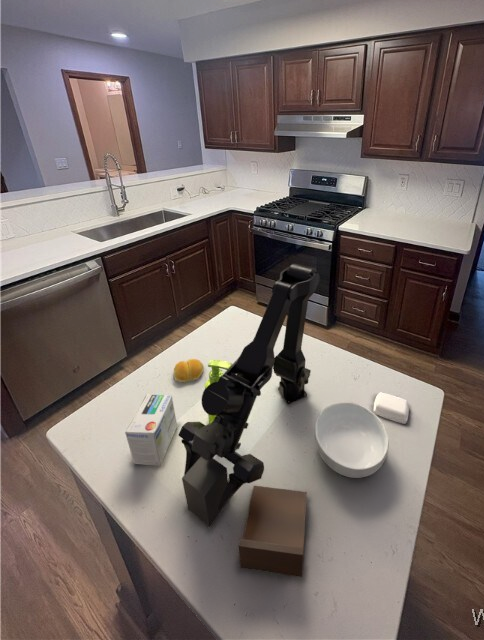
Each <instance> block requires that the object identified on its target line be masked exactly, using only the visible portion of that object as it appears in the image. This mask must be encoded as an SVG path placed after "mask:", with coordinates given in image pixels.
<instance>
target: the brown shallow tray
mask: <svg viewBox="0 0 484 640" xmlns="http://www.w3.org/2000/svg"><path fill="white" fill-rule="evenodd" d="M306 510H307V491H302V490H295V489H286V488H278V487H269V486H261V485H253V487H252V492H251V498H250V502H249V508H248V513H247V517H246V518H247V519H246V521H245V527H244V533H243V538H239V539H238V545H237V549H238V558H239V568H240V569H245V570H251V571H258V572H265V573H270V574H271V573H272V574H277V575H285V576H292V577H297V578H303V573H304V572H303V571H304V552H305V531H306V512H307V511H306Z"/></svg>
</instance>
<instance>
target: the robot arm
mask: <svg viewBox="0 0 484 640" xmlns="http://www.w3.org/2000/svg"><path fill="white" fill-rule="evenodd" d="M320 278H321V277H320V274H319V272H318V270H317V269H316V268H315V267H310V266H307V265H302V264H298V263H292V264H291V265H289V266H288V267H286V268H285V269H283V270H282V271H280V274H279V279H278V280H277V281H276V282H275V283H274V284H273V285H272V288H271V295H270V299H269V301H268V304H267V306H266V309H265V311H264V313H263V316H262V317H261V321H260V323H259V326H258V328H257V331H256V333H255V335H254V337H253V339H252V341H250V343H248V344H247V345H246V346H244V347H243V349H242V351H241V353H240V355H239V356H238V357H237V358H236V360H235V361H234V362H233V363H231V364H232V365H231V366H230V368H229V369H228V370H226V371H225V372H223V376H220V378H219V380H218V382H213V383H211V384H210V385H209V386H208V387H207V388H206V389H205V388H204V390H203V391H202V395H201V406H202V409H203V411H204V412H205V413H206V414H207V415H208V414H209V415H217V416H216V417H215V419H214V421H213V422H212V423H211V424H204V423H203V422H201V421H187V422H185V423H184V424H183V425H182V426H181V428H180V429H179V433H178V437H179V438H180V439H181V442H180V443H181V444H182V445H183V446H184V449H185V452H186V453H185V466H184V473H183V476H184V475H185V474H186V473H187V472H188V471H189V470H190V468H191V467H192V466H193V465H194V464H195V463H196V462H197V460H198V459H199V458H200V457H201V456H202V458H203V459H205V460H211V459H212V458H214V457H215V456H217V457H219V458H220V459H223V458H224V459H225V460H227V461H228V462H229V463H231V464H233V466H232V470H233V472H231V473H228V484H227V487H226V489H225V491H224V493H223V496H222V498H221V500H220V503H219V506H218V510H221V509H222V508H223V507H224V506H226V505H227V504H228V502H229V501H230V500H231V499H232V497H233V496H234V495H235V494H236V492H238V490H239V489H240V488H241V487H242V486H243V485H245V484H251V483H254V482H256V481H258V480H261V479H262V477H263V475H264V471H265V464H264V463H265V462H264V461H262V460H261V459H259V458H257V457H256V456H254V455H252V454H251V453H248V454H244V455H241V454H240V453H238V451H236V450H239V449H240V447H241V444H242V443H240V440H241V437H242V435H243V432H244V430H245V429H248V427H249V422H248V420H249V417H250V414H251V412H252V411H253V407H254V406H255V403H256V399H257V398H258V397H260V396H261V395H262V391H261V389H262V388H263V387H264V386H265V385H266V384H267V383H268V382H269V381H270V380H271V378H272V377H273V373H274V374H275V376H277V377H279V378H280V381H279V383H278V387H277V388H278V389H277V390H278V392H279V395H280V396H281V398H282V399H284V401H285V402H286V404H287V405H291V404H293V403H295V402H297V401H299V400H302V399H304V398H307V397H308V393H307V391H305V385H307V384H308V383H309V378H310V376H311V371H312V370H311V369H309V368H307V367H306V357H305V355H304V352H303V350H302V346H303V339H304V333H305V325H306V320H307V319H306V317H307V311H308V303H309V300H310V299H311V297H312V296H313V295H314V294H315V292H316V291H317V287H318V285H319V283H320ZM285 320H286V322H285ZM284 322H285V332H284V339H283V346H282V349H281V351H279V353H278V354H277V355H275V352H274V351H275V350H274V349H275V346H276V344H277V341H278V338H279V335H280V334H281V333H280V332H281V330H282V328H283V326H284ZM226 503H227V504H226ZM224 508H225V507H224ZM224 508H223V509H224ZM223 509H222V510H223Z"/></svg>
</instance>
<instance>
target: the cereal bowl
mask: <svg viewBox="0 0 484 640" xmlns="http://www.w3.org/2000/svg"><path fill="white" fill-rule="evenodd" d="M314 440H315V444H316V448H317V451H318V453H319V455H320V457H321V459H322V460H323V462H324V463H325V464H326V465H327V466H328V467H329V468H330V469H332V470H333V471H334V472H336V473H337V474H339V475H341V476H344V477H347V478H351V479H352V478H354V479H361V478H366V477H369V476H371V475H373V474H375V473H376V472H377V471H379V470H380V468H381V467H382V466H383V464H384V463H385V461H386V458H387V455H388V452H389V446H390V445H389V443H390V442H389V441H390V440H389V435H388V432H387V429H386V427H385V425H384V423H383V422H382V420H381V419H380V418H379V416H378V415H377V414H375V413H374V411H372V410H370V409H369V408H367V407H366V406H364V405H361V404H359V403H355V402H351V401H339V402H335V403H332V404H330V405H328V406H326V407H325V408H324V409H323V410H322V411H321V412H320V413H319V414H318V416H317V418H316V421H315V425H314Z"/></svg>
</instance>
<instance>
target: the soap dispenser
mask: <svg viewBox="0 0 484 640" xmlns="http://www.w3.org/2000/svg"><path fill="white" fill-rule="evenodd" d="M232 364H233V363H231V362H229V361H225V360H220V359H210V361H209V362H208V364H207V368H211V370H210V371H209V372H208V380H207V381H206V382H205V385H204V390H205V389H206V388H207V387H208V386H209V385H210V384H211V383H213V382H218V380H219V378H220V376H223V374H224V371H223V370H226V371H227V370H228V369H229V368H230V366H231V365H232ZM207 416H208V423H209V424H211V423H212V422H213V421H214V419H215V417H216V416H217V415H209V414H207Z"/></svg>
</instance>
